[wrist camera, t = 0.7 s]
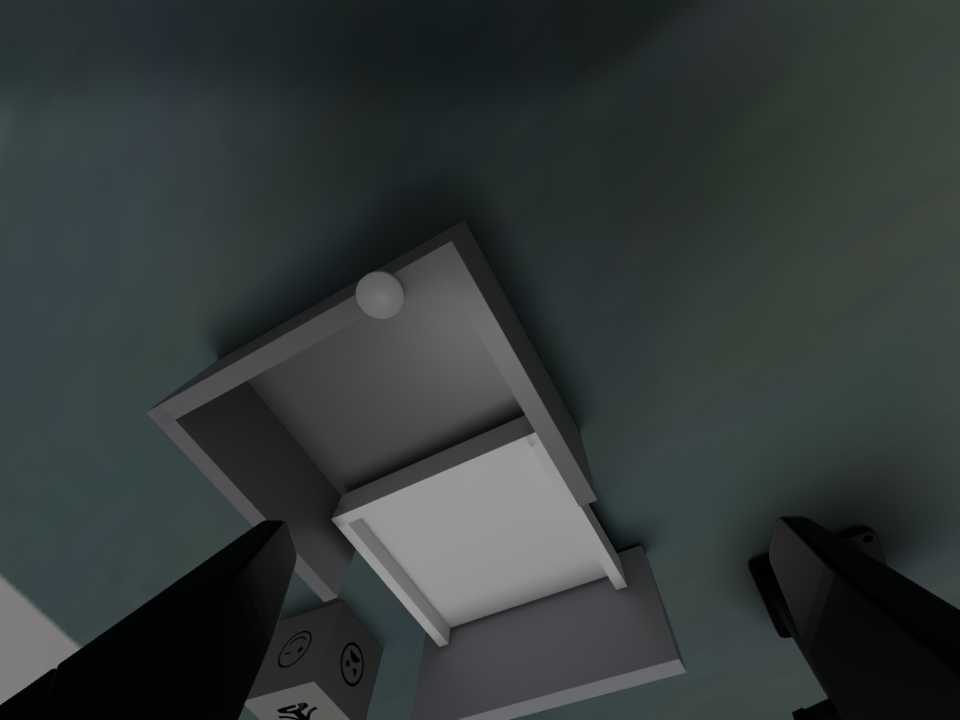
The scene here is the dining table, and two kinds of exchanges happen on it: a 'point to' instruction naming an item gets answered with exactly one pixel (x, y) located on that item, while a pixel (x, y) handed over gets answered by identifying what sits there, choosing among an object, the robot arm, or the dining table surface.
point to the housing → (368, 396)
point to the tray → (508, 581)
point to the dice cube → (317, 668)
